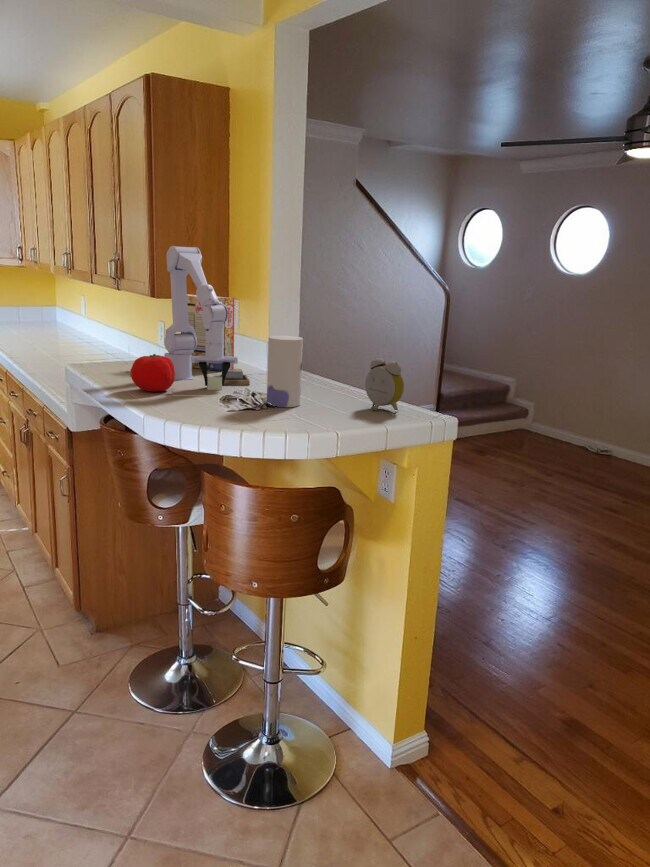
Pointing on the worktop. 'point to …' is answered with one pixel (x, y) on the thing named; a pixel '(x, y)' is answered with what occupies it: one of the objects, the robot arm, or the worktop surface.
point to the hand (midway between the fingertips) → (214, 385)
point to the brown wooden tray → (236, 381)
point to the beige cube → (214, 382)
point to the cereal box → (200, 331)
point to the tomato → (153, 373)
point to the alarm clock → (384, 383)
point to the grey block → (234, 374)
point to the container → (284, 370)
